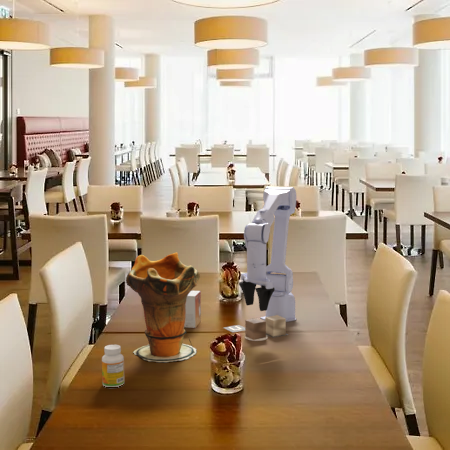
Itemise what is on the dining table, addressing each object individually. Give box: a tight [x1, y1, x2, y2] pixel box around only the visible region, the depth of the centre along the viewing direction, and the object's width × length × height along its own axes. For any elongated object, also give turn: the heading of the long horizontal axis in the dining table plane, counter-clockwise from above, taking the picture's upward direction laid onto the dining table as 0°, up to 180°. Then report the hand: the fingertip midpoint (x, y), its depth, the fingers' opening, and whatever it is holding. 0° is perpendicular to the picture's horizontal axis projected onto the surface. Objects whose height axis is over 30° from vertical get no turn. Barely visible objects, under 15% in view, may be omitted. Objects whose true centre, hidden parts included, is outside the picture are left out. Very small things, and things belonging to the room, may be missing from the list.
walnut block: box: [244, 317, 266, 340], centre depth 210 cm, size 4×4×5 cm
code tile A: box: [223, 324, 245, 333], centre depth 220 cm, size 6×6×1 cm
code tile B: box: [266, 333, 289, 339], centre depth 214 cm, size 6×6×1 cm
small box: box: [184, 290, 202, 329], centre depth 224 cm, size 8×6×10 cm
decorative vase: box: [125, 251, 201, 363], centre depth 195 cm, size 21×23×28 cm
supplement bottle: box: [101, 344, 125, 388], centre depth 172 cm, size 5×5×10 cm
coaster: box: [244, 335, 269, 342], centre depth 210 cm, size 7×7×1 cm
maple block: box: [264, 315, 287, 338], centre depth 214 cm, size 4×4×5 cm
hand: (256, 307), depth 209 cm, fingers open, 7 cm apart
